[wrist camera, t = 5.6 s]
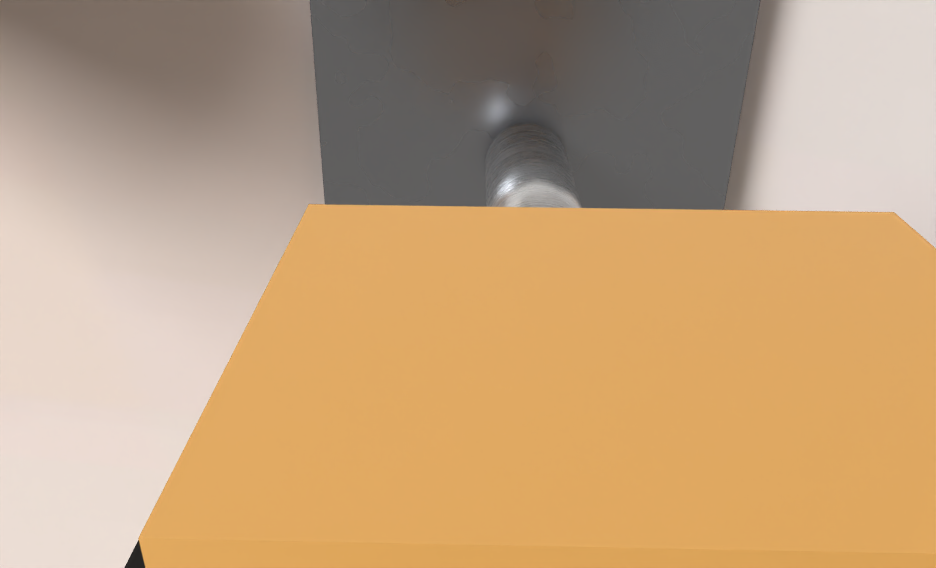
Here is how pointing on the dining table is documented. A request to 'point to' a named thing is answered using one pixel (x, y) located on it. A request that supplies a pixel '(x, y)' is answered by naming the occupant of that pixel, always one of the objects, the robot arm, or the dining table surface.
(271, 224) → the dining table surface
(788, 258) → the orange hollow square block
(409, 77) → the keeper
